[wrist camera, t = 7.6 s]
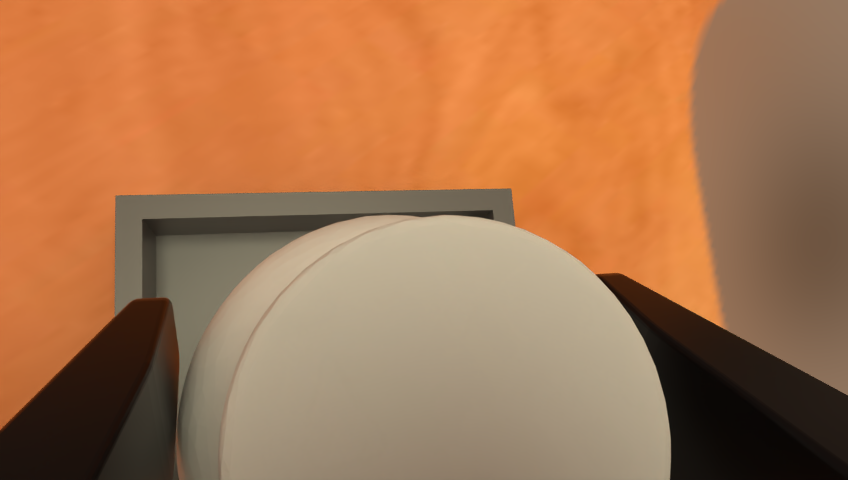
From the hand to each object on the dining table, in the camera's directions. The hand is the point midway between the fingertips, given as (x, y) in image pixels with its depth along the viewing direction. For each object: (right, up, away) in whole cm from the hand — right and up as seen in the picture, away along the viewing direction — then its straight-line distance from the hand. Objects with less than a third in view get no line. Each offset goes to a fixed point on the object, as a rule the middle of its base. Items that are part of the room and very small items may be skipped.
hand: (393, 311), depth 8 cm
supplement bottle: (-1, -3, +6) cm, 7 cm away
